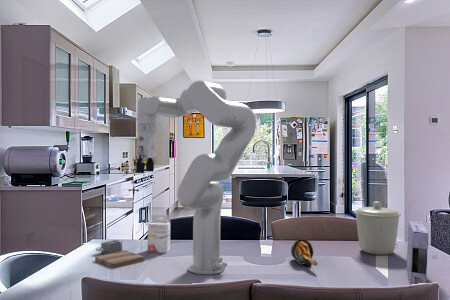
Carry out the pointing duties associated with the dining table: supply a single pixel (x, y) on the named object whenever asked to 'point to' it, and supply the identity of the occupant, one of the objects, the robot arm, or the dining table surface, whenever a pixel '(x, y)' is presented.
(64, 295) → the dining table surface
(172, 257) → the dining table surface
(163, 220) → the ink cartridge box
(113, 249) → the grey double dome block
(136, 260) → the walnut board
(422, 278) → the cake pan box
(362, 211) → the canister
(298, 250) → the fried shrimp in bowl
